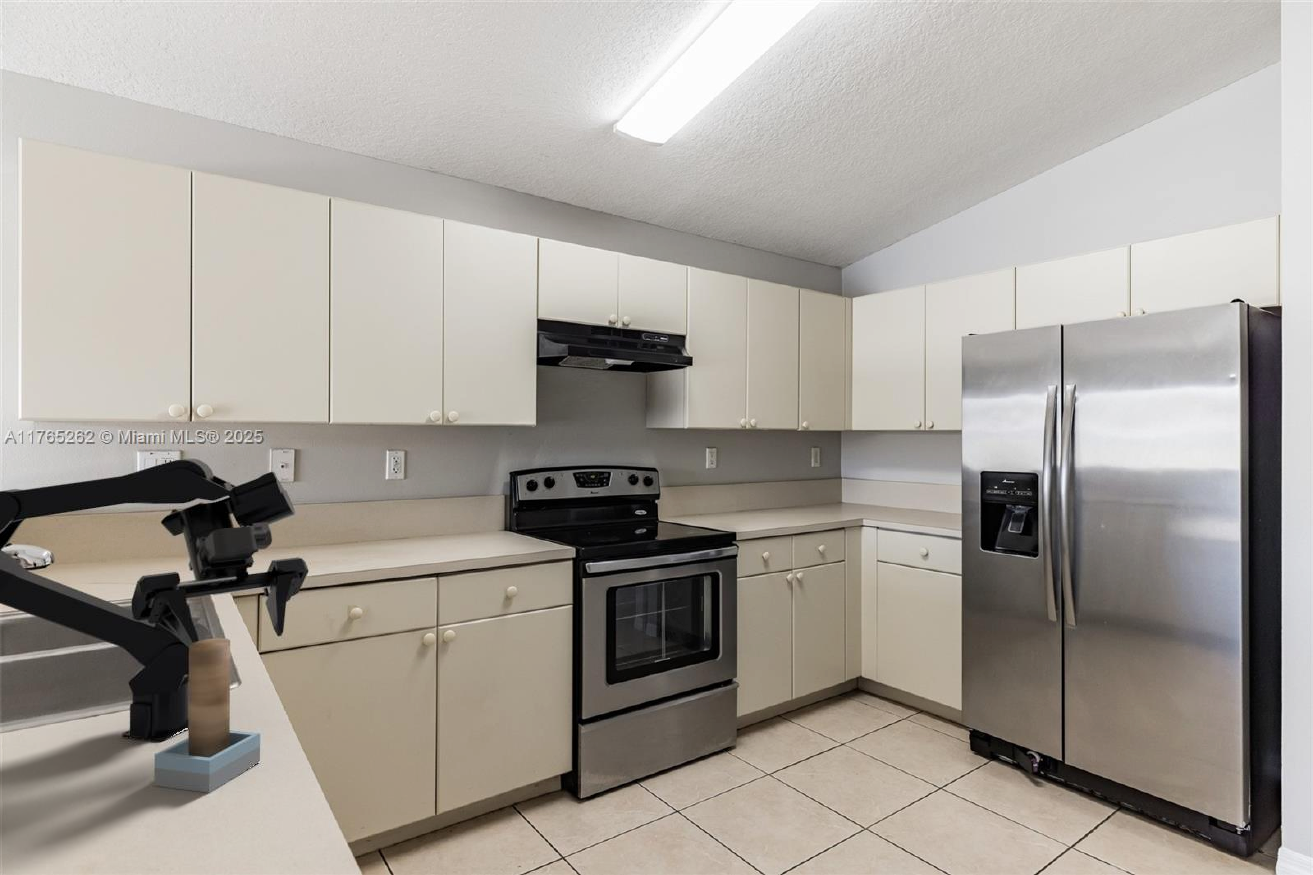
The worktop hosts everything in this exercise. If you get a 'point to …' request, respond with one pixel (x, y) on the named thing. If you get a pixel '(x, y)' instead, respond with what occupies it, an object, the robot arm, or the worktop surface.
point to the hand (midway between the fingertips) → (240, 642)
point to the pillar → (209, 697)
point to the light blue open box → (206, 764)
